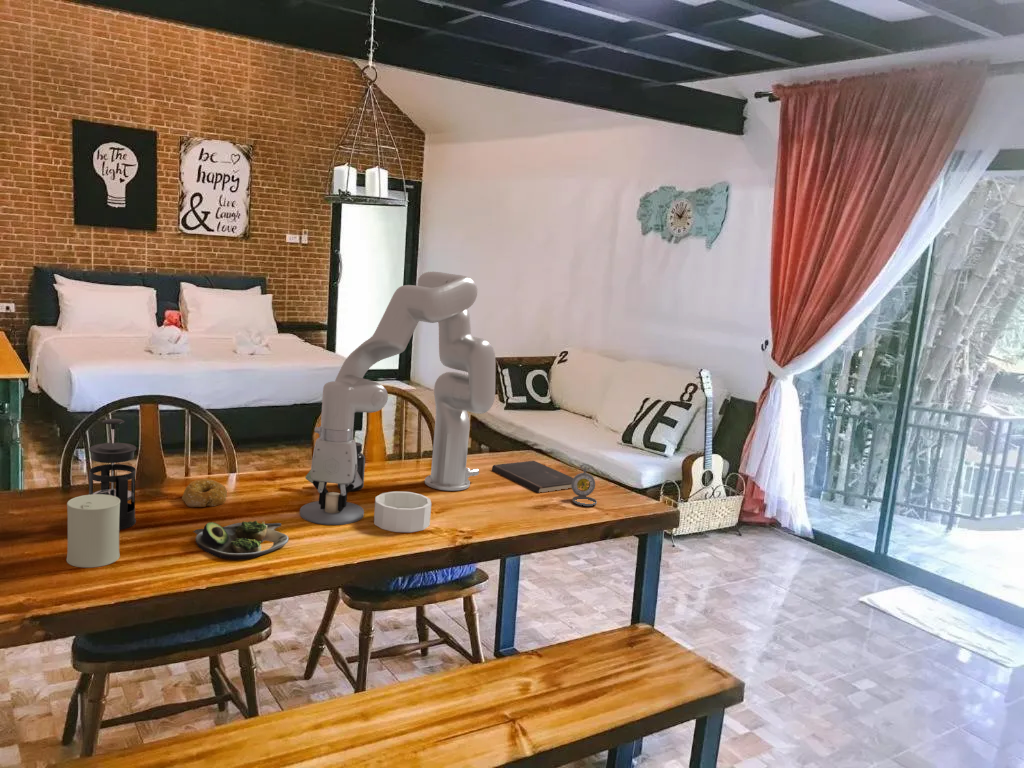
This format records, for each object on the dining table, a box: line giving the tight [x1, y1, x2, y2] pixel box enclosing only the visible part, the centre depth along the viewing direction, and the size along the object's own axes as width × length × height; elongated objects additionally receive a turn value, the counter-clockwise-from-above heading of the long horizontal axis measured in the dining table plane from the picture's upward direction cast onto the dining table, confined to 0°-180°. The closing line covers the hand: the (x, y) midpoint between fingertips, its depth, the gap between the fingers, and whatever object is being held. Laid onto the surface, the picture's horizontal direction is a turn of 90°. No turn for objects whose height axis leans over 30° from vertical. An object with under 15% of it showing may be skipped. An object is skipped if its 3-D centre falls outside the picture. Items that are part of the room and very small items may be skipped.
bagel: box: [181, 478, 228, 508], centre depth 194 cm, size 10×11×5 cm
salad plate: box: [192, 520, 290, 561], centre depth 173 cm, size 19×18×5 cm
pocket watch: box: [571, 463, 598, 507], centre depth 222 cm, size 8×8×10 cm
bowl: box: [373, 491, 432, 533], centre depth 193 cm, size 13×13×6 cm
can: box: [66, 494, 121, 569], centre depth 157 cm, size 9×9×12 cm
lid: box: [299, 491, 365, 526], centre depth 194 cm, size 15×15×5 cm
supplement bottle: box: [337, 441, 366, 492], centre depth 215 cm, size 7×7×12 cm
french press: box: [88, 418, 137, 531], centre depth 174 cm, size 12×9×23 cm
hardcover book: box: [491, 460, 579, 494], centre depth 241 cm, size 16×23×2 cm
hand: (332, 507), depth 194 cm, fingers closed on lid, 3 cm apart
